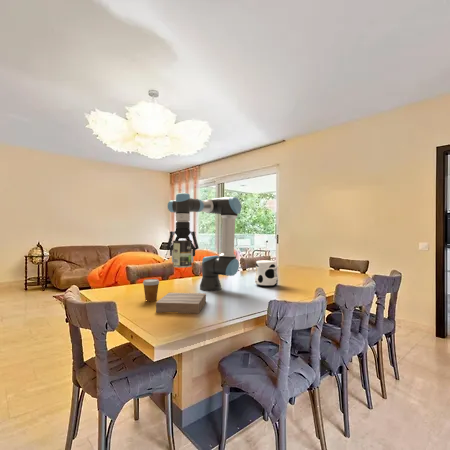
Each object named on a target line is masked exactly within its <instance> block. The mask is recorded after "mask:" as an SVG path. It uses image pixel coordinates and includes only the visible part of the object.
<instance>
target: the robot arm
mask: <svg viewBox="0 0 450 450" xmlns="http://www.w3.org/2000/svg"><path fill="white" fill-rule="evenodd" d="M190 196H191V195H190V194H189V193H187V192H179V193H177V194H176V196H175V199H172V200H169V201H168V203H167V210H168V211H169V213H175V231H173V230H171V231H170V232H169V238H168V242H167V245H166V249H167V250H169V256H170V257H171V263H173V239H174V236H175V235H176V237H175V239H174V241H178V240H181V239H182V240H183V239H185V240H187V241H192V243H191V248H192V250H191V263H192V264H193V263H194V257H196V250H198V249H199V244H198V241H197V237H196V231H191V230H190V229H191V228H190V224H191V223H190V222H189V221H190V220H191V219H190V217H191V215H190V213H207V214H214V215H215V214H216V215H220V217H221V218H222V232H221V251H220V252H221V253H220V254H218V255H210V256H204V257H203V258H202V260H201V264H202V266H201V267H202V268H201V269H202V275H201V276H202V278H201V280H200V284H199V290H201V291H209V292H211V291H214V292H215V291H220V290H221V289H222V285H221V280H220V277H219V276H227V277H232V276H233V277H234V276H235V275H236V274H237V273H238V271H239V268H240V267H239V266H240V262H239V259H237V255H235V237H236V236H235V234H236V232H235V231H236V219H237V218H238V217H239V216H238V215H239V214H240V213H241V211H242V203H241V201H240V200H239V198H238V197H235V196H225V197H224V196H223V197H215V198H210V199H204V200H202V199H198V198H193V197H192V198H191V197H190ZM190 235H191V237H192V240H191V238H190Z"/></svg>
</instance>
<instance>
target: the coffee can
mask: <svg viewBox="0 0 450 450" xmlns="http://www.w3.org/2000/svg"><path fill="white" fill-rule="evenodd" d="M191 243H193V240H191V241H187V240H186V239H185V240H183V239H182V240H181V239H179V240H178V241H175V240H172V244H173V262H172V263H173V264H172V267H173V268H179V269H181V268H192V267H193V263H191V250H192V248H191Z"/></svg>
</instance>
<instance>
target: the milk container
mask: <svg viewBox="0 0 450 450" xmlns="http://www.w3.org/2000/svg"><path fill="white" fill-rule="evenodd" d="M278 276H279V275H278V263H277V261H276V260H268V259H267V260H266V259H265V260H264V259H263V260H256V261H255V275H254V283H255V284H256V285H257V286H259V287H265V288H266V287H275V286H277V285H278V283H279V277H278Z"/></svg>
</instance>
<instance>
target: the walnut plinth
mask: <svg viewBox="0 0 450 450" xmlns="http://www.w3.org/2000/svg"><path fill="white" fill-rule="evenodd" d="M155 302H156V303H155V313H162V312H178V313H177V314H191V313H199V314H200V312H201V310H202V309H203V307H204V306H205V304H206V302H207V293H201V292H199V293H197V292H196V293H194V292H168V293H166V295H164V296H163V297H161V298H160V299H158V300H156V301H155Z"/></svg>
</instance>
